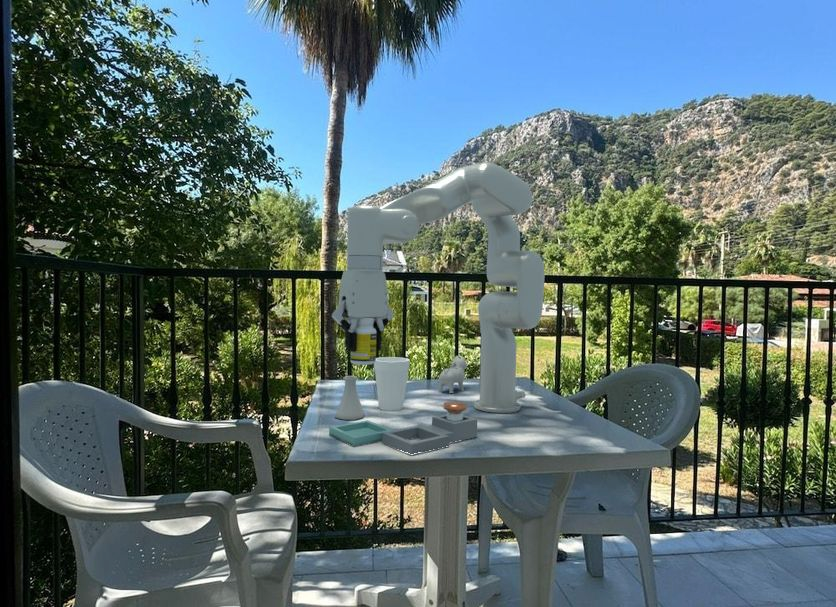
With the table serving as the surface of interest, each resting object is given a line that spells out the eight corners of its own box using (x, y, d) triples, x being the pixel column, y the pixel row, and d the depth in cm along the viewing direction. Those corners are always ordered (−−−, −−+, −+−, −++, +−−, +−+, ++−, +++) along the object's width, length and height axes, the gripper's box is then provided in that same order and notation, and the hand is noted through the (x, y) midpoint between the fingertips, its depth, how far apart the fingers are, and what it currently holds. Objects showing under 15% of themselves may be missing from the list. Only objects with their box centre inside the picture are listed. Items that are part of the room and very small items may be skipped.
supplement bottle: (373, 365, 109) (374, 318, 108) (347, 364, 109) (348, 317, 109) (377, 361, 114) (378, 317, 114) (353, 360, 115) (354, 316, 114)
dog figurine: (470, 388, 169) (471, 356, 168) (451, 395, 158) (452, 360, 157) (456, 386, 171) (457, 354, 171) (436, 392, 161) (437, 358, 160)
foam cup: (395, 414, 133) (396, 363, 132) (366, 408, 138) (367, 359, 137) (415, 407, 141) (416, 359, 140) (387, 402, 146) (388, 356, 145)
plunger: (454, 431, 118) (455, 400, 118) (470, 436, 114) (471, 404, 114) (438, 434, 115) (438, 403, 114) (453, 440, 111) (454, 407, 111)
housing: (450, 428, 120) (451, 411, 120) (481, 438, 113) (482, 420, 113) (381, 443, 108) (382, 423, 108) (411, 455, 101) (411, 435, 100)
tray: (367, 428, 119) (368, 420, 119) (393, 438, 111) (394, 430, 111) (329, 435, 113) (329, 427, 113) (353, 447, 105) (354, 438, 105)
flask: (369, 415, 131) (370, 375, 131) (356, 422, 124) (357, 380, 124) (343, 412, 134) (344, 373, 133) (329, 419, 127) (330, 378, 126)
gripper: (387, 266, 119) (385, 345, 120) (320, 263, 108) (319, 350, 109) (407, 266, 113) (405, 349, 114) (338, 263, 103) (337, 354, 103)
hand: (363, 349), depth 112 cm, fingers closed on supplement bottle, 5 cm apart
